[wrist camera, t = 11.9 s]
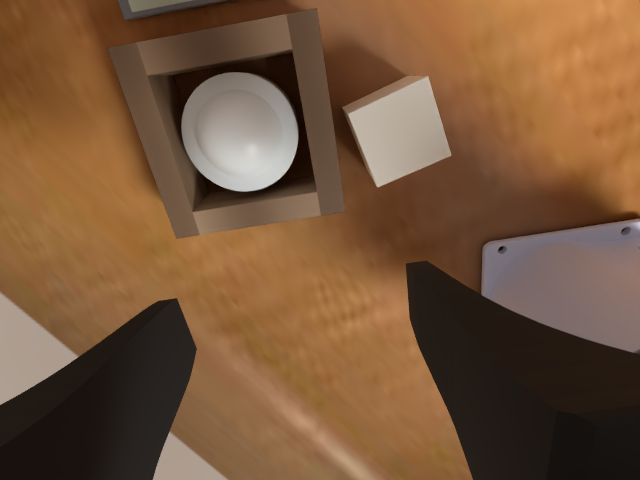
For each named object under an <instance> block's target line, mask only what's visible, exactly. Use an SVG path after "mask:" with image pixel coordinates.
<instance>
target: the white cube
mask: <svg viewBox="0 0 640 480" xmlns="http://www.w3.org/2000/svg"><path fill="white" fill-rule="evenodd" d="M342 109H343V111H344V114H345V116H346V119H347V121H348V124H349V126H350V129H351V131H352V134H353V136H354V139H355V141H356V144H357V146H358V148H359V151H360V153H361V156H362V158H363V161H364V163H365V166H366V168H367V170H368V172H369V174H370V176H371V177H372V179H373V181H374V183H375V184H376V186H377V188H378V187H380V186H382V185H385V184H387V183H389V182H392V181H394V180H396V179H399V178H401V177H403V176H406V175H408V174H410V173H412V172H415V171H417V170H419V169H422V168H424V167H426V166H429V165H431V164H433V163H436V162H438V161H440V160H442V159H445V158H447V157H449V156H452V155H451V152H450V149H449V145H448V142H447V138H446V135H445V132H444V128H443V125H442V122H441V118H440V115H439V112H438V108H437V105H436V101H435V98H434V95H433V91H432V88H431V85H430V81H429V78H428V76H406V77H404V78H402V79H400V80H398V81H396V82H394V83H392V84H389V85H387V86H385V87H383V88H381V89H379V90H377V91H375V92H373V93H371V94H369V95H366V96H364V97H362V98H360V99H358V100H356V101H354V102H352V103H350V104H348V105H346V106H344V107H342Z"/></svg>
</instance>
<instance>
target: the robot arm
mask: <svg viewBox="0 0 640 480" xmlns="http://www.w3.org/2000/svg"><path fill="white" fill-rule="evenodd" d="M624 228H625V229H624ZM623 229H624V231H623V232H621V231H622V230H623ZM501 246H504V247H503V249H502V250H500V251H498V249H499V248H500V247H501ZM406 272H407V286H408V300H409V314H410V321H411V324H412V327H413V330H414V334H415V337H416V340H417V343H418V346H419V348H420V351H421V353H422V355H423V357H424V359H425V362H426V364H427V366H428V368H429V370H430V372H431V375H432V377H433V379H434V381H435V383H436V385H437V388H438V390H439V392H440V394H441V396H442V398H443V400H444V403H445V405H446V407H447V409H448V411H449V414H450V416H451V419H452V421H453V423H454V426H455V428H456V431H457V434H458V437H459V440H460V443H461V446H462V448H463V451H464V454H465V457H466V460H467V463H468V466H469V469H470V472H471V475H472V478H473V480H640V219H633V220H627V221H620V222H614V223H607V224H600V225H594V226H587V227H581V228H574V229H568V230H561V231H555V232H548V233H541V234H535V235H528V236H522V237H515V238H509V239H502V240H496V241H490V242H488V243H486V244H485V245H484V247H483V252H482V286H481V294H479V293H477V292H475V291H474V290H472V289H470V288H469V287H467V286H465V285H464V284H462V283H460V282H459V281H457V280H456V279H454V278H452V277H451V276H449V275H448V274H446V273H445V272H443V271H442V270H440V269H439V268H437V267H435V266H434V265H432V264H431V263H429V262H428V261H420V262H414V263H407V264H406ZM196 350H197V348H196V346H195V343H194V341H193V338H192V336H191V333H190V331H189V328H188V325H187V323H186V320H185V318H184V315H183V313H182V310H181V308H180V305H179V303H178V300H177V298H176V299H169V300H162V301H158V302H156V303H154V304H152V305H151V306H149V307H148V308H146V309H145V310H143V311H142V312H141V313H139V314H138V315H136V316H135V317H134V318H132V319H131V320H129V321H128V322H127V323H125V324H124V325H123V326H121V327H120V328H119V329H117V330H116V331H115V332H113V333H112V334H111V335H109V336H108V337H106V338H105V339H104V340H102V341H101V342H100V343H98V344H97V345H95V346H94V347H92V348H91V349H90V350H88V351H87V352H85V353H84V354H82V355H81V356H80V357H78V358H77V359H75V360H74V361H72V362H71V363H70V364H68V365H67V366H65V367H64V368H62V369H61V370H59V371H58V372H56V373H54V374H53V375H51V376H50V377H48V378H47V379H45V380H43V381H42V382H40V383H38V384H37V385H35V386H33V387H32V388H30V389H28V390H27V391H25V392H23V393H21V394H20V395H18V396H16V397H14V398H13V399H11V400H9V401H7V402H5V403H3V404H1V405H0V480H153V476H154V473H155V469H156V466H157V463H158V460H159V457H160V454H161V451H162V449H163V446H164V443H165V441H166V438H167V436H168V433H169V431H170V428H171V426H172V423H173V421H174V418H175V416H176V413H177V411H178V408H179V406H180V403H181V400H182V398H183V395H184V393H185V390H186V387H187V385H188V382H189V379H190V376H191V372H192V368H193V364H194V359H195V354H196Z"/></svg>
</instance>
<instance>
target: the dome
mask: <svg viewBox="0 0 640 480" xmlns="http://www.w3.org/2000/svg"><path fill="white" fill-rule="evenodd" d="M181 130H182V138H183V142H184V146H185V149H186V151H187V154H188V155H189V157H190V159H191V161H192V162H193V164H194V165H195V167H196V168H197V169H198V170H199V171H200V172H201V173H202V174H203V175H204V176H205V177H206V178H208V179H209V180H210V181H212V182H213V183H215V184H217V185H219V186H221V187H224V188H226V189H230V190H235V191H255V190H259V189H263V188H265V187H268V186H269V185H271V184H273V183H275V182H276V181H277V180H279V179H280V178H281V177H282V176H283V175H284V174H285V173H286V171H287V170H288V169H289V167H290V165H291V164H292V162H293V159H294V157H295V154H296V150H297V145H298V140H299V121H298V117H297V113H296V111H295V108H294V106H293V104H292V102H291V100H290V99H289V97H288V96H287V94H286V93H285V92H284V91H283V90H282V89H281V88H280V87H279V86H278V85H276V84H275V83H274V82H272V81H271V80H269V79H267V78H265V77H263V76H260V75H257V74H252V73H241V72H230V73H223V74H219V75H216V76H214V77H211V78H209V79H208V80H206V81H204V82H203V83H202V84H200V85H199V86H198V87H197V88H196V89H195V90H194V92H193V93H192V94H191V96H190V97H189V99H188V101H187V103H186V105H185V108H184V111H183V115H182V124H181Z"/></svg>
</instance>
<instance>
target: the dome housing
mask: <svg viewBox="0 0 640 480" xmlns="http://www.w3.org/2000/svg"><path fill="white" fill-rule="evenodd" d="M107 49H108V52H109V55H110V58H111V60H112V63H113V66H114V69H115V71H116V74H117V77H118V80H119V82H120V85H121V88H122V91H123V93H124V96H125V99H126V102H127V104H128V107H129V110H130V113H131V115H132V118H133V121H134V124H135V126H136V129H137V132H138V135H139V137H140V140H141V143H142V146H143V148H144V151H145V154H146V157H147V159H148V162H149V165H150V168H151V170H152V173H153V176H154V179H155V181H156V184H157V187H158V190H159V192H160V195H161V198H162V201H163V203H164V206H165V209H166V212H167V214H168V217H169V220H170V223H171V225H172V228H173V231H174V234H175V236H176V239H178V238H184V237H191V236H197V235H203V234H209V233H216V232H222V231H228V230H234V229H241V228H247V227H253V226H259V225H266V224H272V223H278V222H285V221H291V220H297V219H303V218H310V217H316V216H322V215H328V214H335V213H341V212H346V210H345V203H344V196H343V189H342V182H341V175H340V168H339V161H338V154H337V147H336V140H335V133H334V126H333V118H332V111H331V104H330V97H329V90H328V83H327V76H326V69H325V62H324V55H323V48H322V41H321V34H320V27H319V20H318V12H317V8H316V9H310V10H305V11H300V12H294V13H289V14H284V15H279V16H273V17H268V18H263V19H257V20H252V21H247V22H241V23H236V24H231V25H226V26H220V27H215V28H210V29H204V30H199V31H194V32H188V33H183V34H178V35H173V36H167V37H162V38H157V39H151V40H146V41H141V42H135V43H130V44H125V45H119V46H114V47H109V48H107ZM292 53H293V57H294V62H295V68H296V74H297V80H298V86H299V91H300V97H301V103H302V109H303V114H304V120H305V126H306V132H307V138H308V143H309V149H310V155H311V161H312V167H313V172H314V176H311V177H305V178H299V179H293V180H287V181H281V182H275V183H273V184H271V185H269V186H268V187H265V188H263V189H259V190H255V191H235V190H226V191H220V192H214V193H209V192H208V189H207V185H206V182H205V179H204V176H203V174H202V173H201V172H200V171H199V170H198V169H197V168H196V167H195V165H194V164H193V162H192V161H191V159H190V157H189V155H188V154H187V151H186V149H185V146H184V142H183V138H182V130H181V124H182V115H183V111H184V110H183V106H182V103H181V100H180V97H179V93H178V90H177V87H176V83H175V80H174V77H173V75H177V74H183V73H188V72H194V71H199V70H205V69H210V68H216V67H221V66H226V65H232V64H237V63H243V62H248V61H254V60H259V59H265V58H270V57H276V56H281V55H287V54H292Z"/></svg>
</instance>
